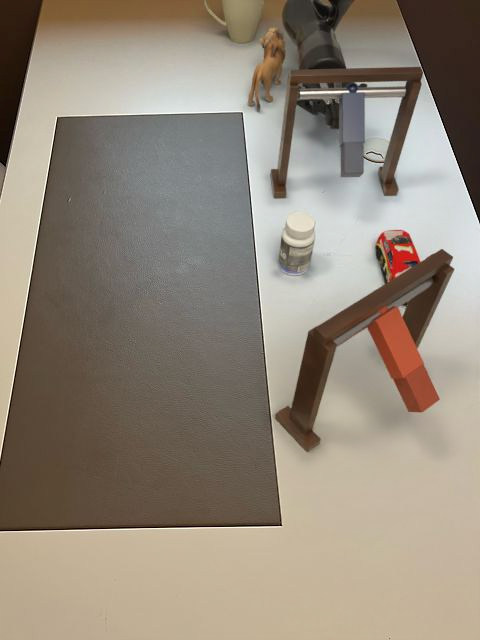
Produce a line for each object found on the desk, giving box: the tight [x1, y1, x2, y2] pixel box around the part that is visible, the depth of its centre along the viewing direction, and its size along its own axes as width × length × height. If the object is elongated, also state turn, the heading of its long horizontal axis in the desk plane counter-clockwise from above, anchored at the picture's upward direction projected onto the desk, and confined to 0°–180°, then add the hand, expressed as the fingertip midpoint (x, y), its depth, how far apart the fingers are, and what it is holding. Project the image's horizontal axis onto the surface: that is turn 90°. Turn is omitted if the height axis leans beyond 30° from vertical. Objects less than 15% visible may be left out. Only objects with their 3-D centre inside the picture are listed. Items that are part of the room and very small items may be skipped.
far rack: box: [269, 66, 424, 199], centre depth 95 cm, size 6×20×19 cm, turn 91°
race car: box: [375, 229, 421, 305], centre depth 90 cm, size 13×5×4 cm, turn 2°
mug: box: [203, 0, 266, 44], centre depth 125 cm, size 11×10×12 cm
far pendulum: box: [298, 82, 406, 178], centre depth 90 cm, size 2×15×13 cm
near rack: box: [274, 248, 455, 453], centre depth 72 cm, size 6×20×19 cm, turn 126°
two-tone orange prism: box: [333, 277, 440, 413], centre depth 67 cm, size 2×15×13 cm
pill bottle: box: [277, 211, 316, 277], centre depth 89 cm, size 5×5×8 cm
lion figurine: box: [247, 27, 286, 112], centre depth 115 cm, size 15×5×9 cm, turn 167°
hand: (336, 124), depth 99 cm, fingers closed
